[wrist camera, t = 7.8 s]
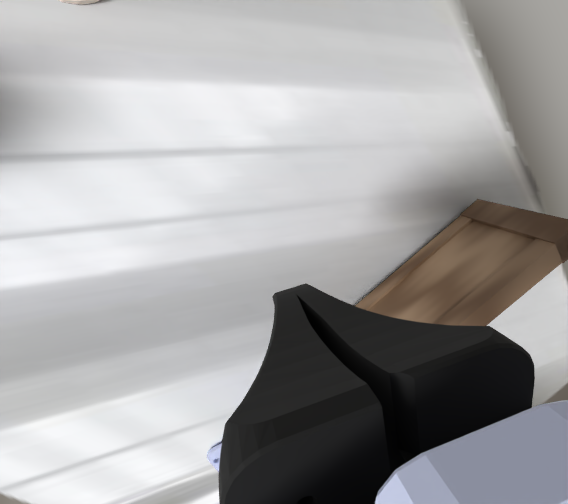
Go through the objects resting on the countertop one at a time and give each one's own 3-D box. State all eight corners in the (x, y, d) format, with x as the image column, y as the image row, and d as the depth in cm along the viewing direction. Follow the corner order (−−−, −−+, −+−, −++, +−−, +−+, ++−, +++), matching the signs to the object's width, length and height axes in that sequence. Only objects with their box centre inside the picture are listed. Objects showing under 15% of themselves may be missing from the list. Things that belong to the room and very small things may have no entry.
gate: (332, 346, 24) (376, 418, 18) (320, 334, 23) (361, 404, 17) (486, 215, 23) (587, 243, 17) (477, 199, 22) (579, 221, 16)
